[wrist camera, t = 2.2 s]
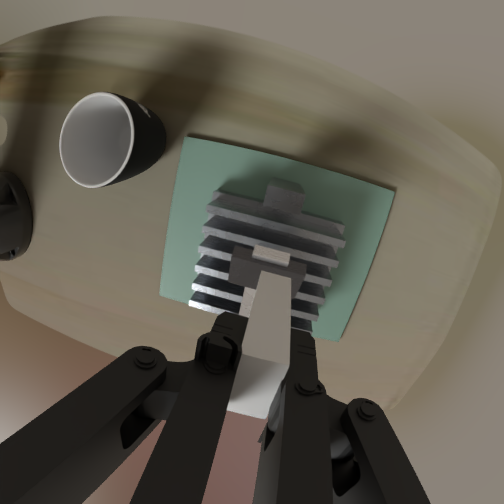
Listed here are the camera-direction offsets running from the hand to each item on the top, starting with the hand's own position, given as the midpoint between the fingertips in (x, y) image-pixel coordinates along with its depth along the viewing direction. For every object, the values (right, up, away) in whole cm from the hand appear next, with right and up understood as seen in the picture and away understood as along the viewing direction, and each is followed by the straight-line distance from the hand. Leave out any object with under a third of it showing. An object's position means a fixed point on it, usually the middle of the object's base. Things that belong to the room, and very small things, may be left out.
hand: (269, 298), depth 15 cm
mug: (-15, +16, +17) cm, 28 cm away
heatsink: (+1, +2, +19) cm, 19 cm away
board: (+1, +3, +19) cm, 19 cm away
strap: (0, -2, +10) cm, 10 cm away
